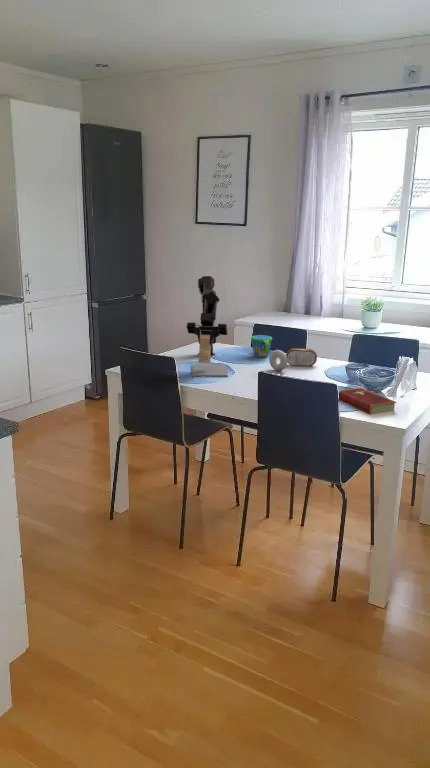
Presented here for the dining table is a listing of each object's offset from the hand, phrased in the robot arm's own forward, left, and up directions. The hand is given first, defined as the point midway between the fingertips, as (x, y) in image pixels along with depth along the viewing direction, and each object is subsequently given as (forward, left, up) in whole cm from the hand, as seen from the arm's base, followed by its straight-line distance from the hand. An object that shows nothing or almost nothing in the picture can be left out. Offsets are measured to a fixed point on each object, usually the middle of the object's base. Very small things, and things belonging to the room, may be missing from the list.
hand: (204, 343), depth 281 cm
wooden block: (0, 0, -9) cm, 9 cm away
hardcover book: (+77, +19, -14) cm, 81 cm away
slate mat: (0, +3, -13) cm, 14 cm away
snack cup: (-7, +43, -14) cm, 45 cm away
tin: (+19, +45, -14) cm, 51 cm away
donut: (+19, +29, -14) cm, 37 cm away
